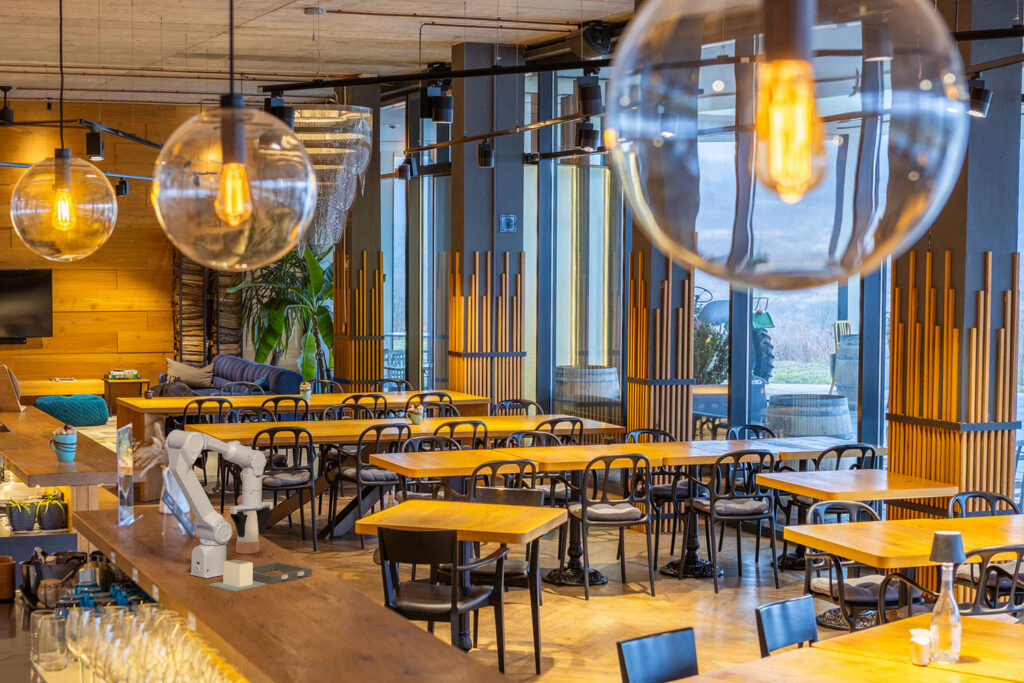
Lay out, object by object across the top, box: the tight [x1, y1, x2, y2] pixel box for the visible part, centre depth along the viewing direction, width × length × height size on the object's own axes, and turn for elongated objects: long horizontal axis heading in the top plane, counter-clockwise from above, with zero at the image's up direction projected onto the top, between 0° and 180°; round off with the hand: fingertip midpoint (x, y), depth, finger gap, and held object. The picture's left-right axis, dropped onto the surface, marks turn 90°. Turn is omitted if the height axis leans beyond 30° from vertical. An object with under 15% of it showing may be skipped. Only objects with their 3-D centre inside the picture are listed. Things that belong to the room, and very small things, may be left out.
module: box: [222, 559, 254, 587], centre depth 316 cm, size 4×7×6 cm, turn 53°
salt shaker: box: [235, 494, 260, 554], centre depth 365 cm, size 7×7×19 cm
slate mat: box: [208, 580, 267, 592], centre depth 316 cm, size 11×11×1 cm
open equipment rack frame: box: [253, 561, 312, 585], centre depth 329 cm, size 15×16×2 cm
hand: (251, 535), depth 341 cm, fingers open, 7 cm apart
